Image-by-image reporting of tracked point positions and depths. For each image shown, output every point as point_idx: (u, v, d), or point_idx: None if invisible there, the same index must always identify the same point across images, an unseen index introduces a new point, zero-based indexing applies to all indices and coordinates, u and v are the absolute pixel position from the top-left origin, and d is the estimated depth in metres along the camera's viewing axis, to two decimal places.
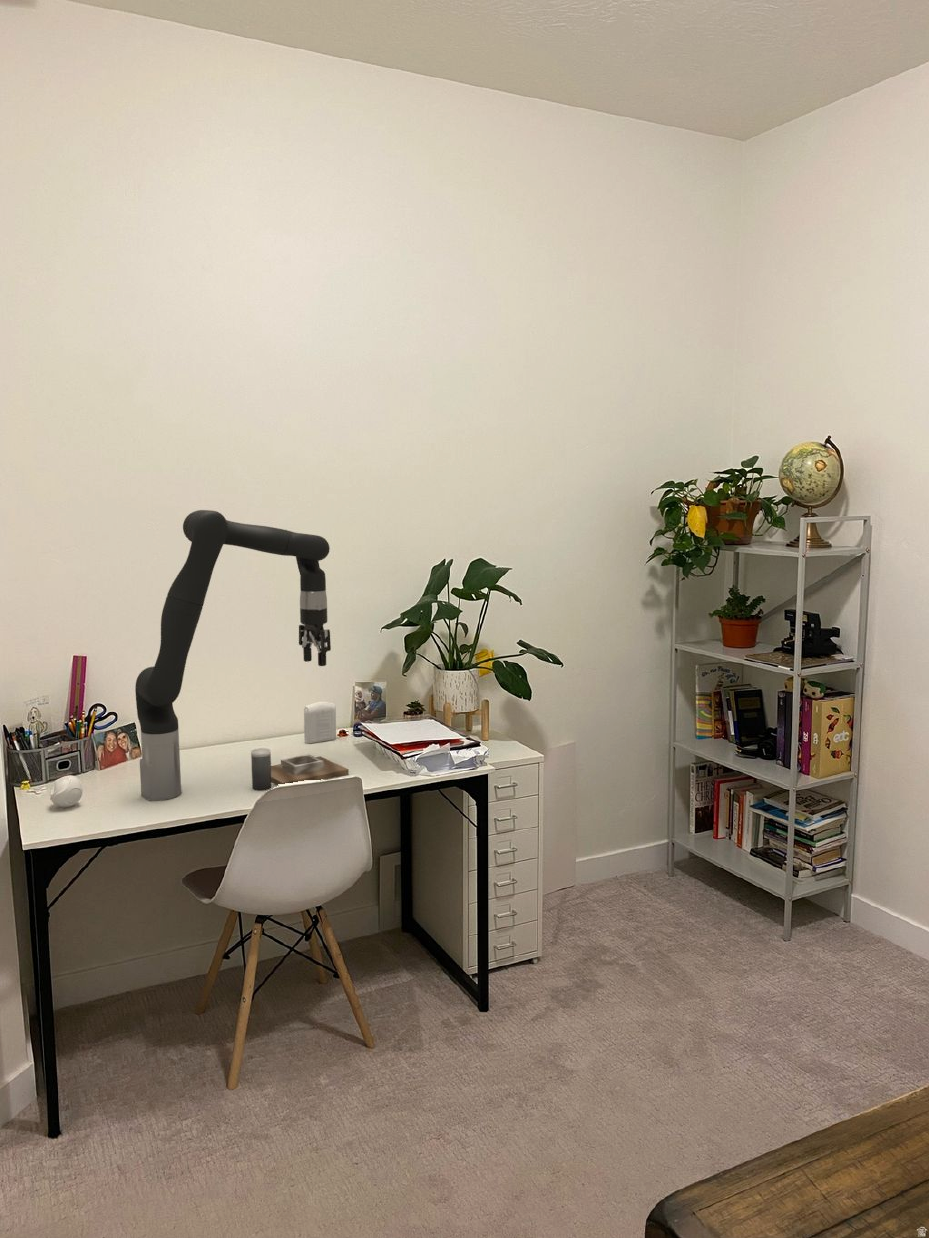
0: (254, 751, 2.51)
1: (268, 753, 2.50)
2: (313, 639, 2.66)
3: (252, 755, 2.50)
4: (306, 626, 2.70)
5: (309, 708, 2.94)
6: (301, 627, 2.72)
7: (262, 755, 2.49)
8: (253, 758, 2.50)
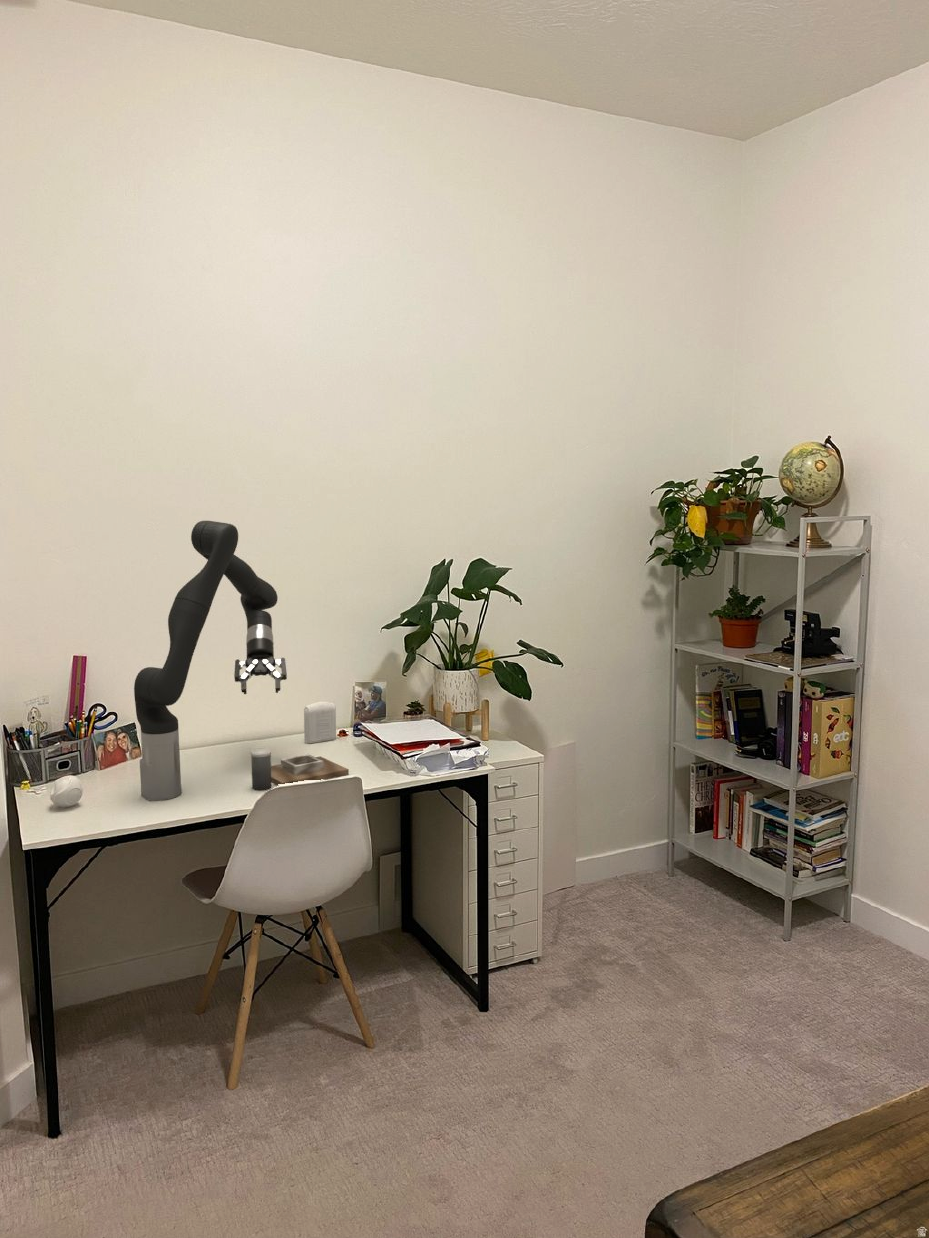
0: (254, 751, 2.51)
1: (268, 753, 2.50)
2: (270, 666, 2.67)
3: (252, 755, 2.50)
4: (251, 659, 2.68)
5: (309, 708, 2.94)
6: (239, 661, 2.67)
7: (262, 755, 2.49)
8: (253, 758, 2.50)
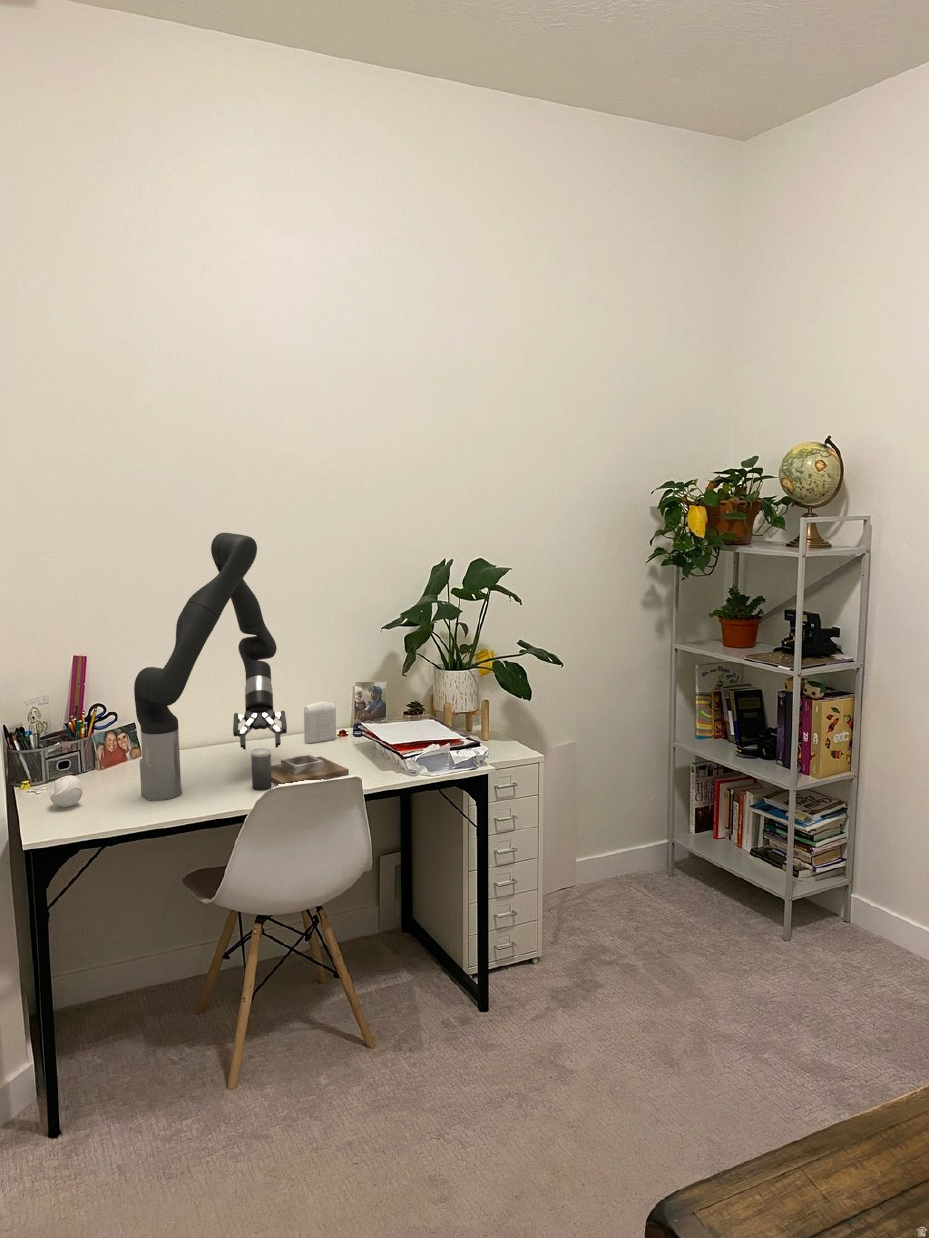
0: (254, 751, 2.51)
1: (268, 753, 2.50)
2: (269, 719, 2.60)
3: (252, 755, 2.50)
4: (250, 712, 2.61)
5: (309, 708, 2.94)
6: (238, 715, 2.60)
7: (262, 755, 2.49)
8: (253, 758, 2.50)
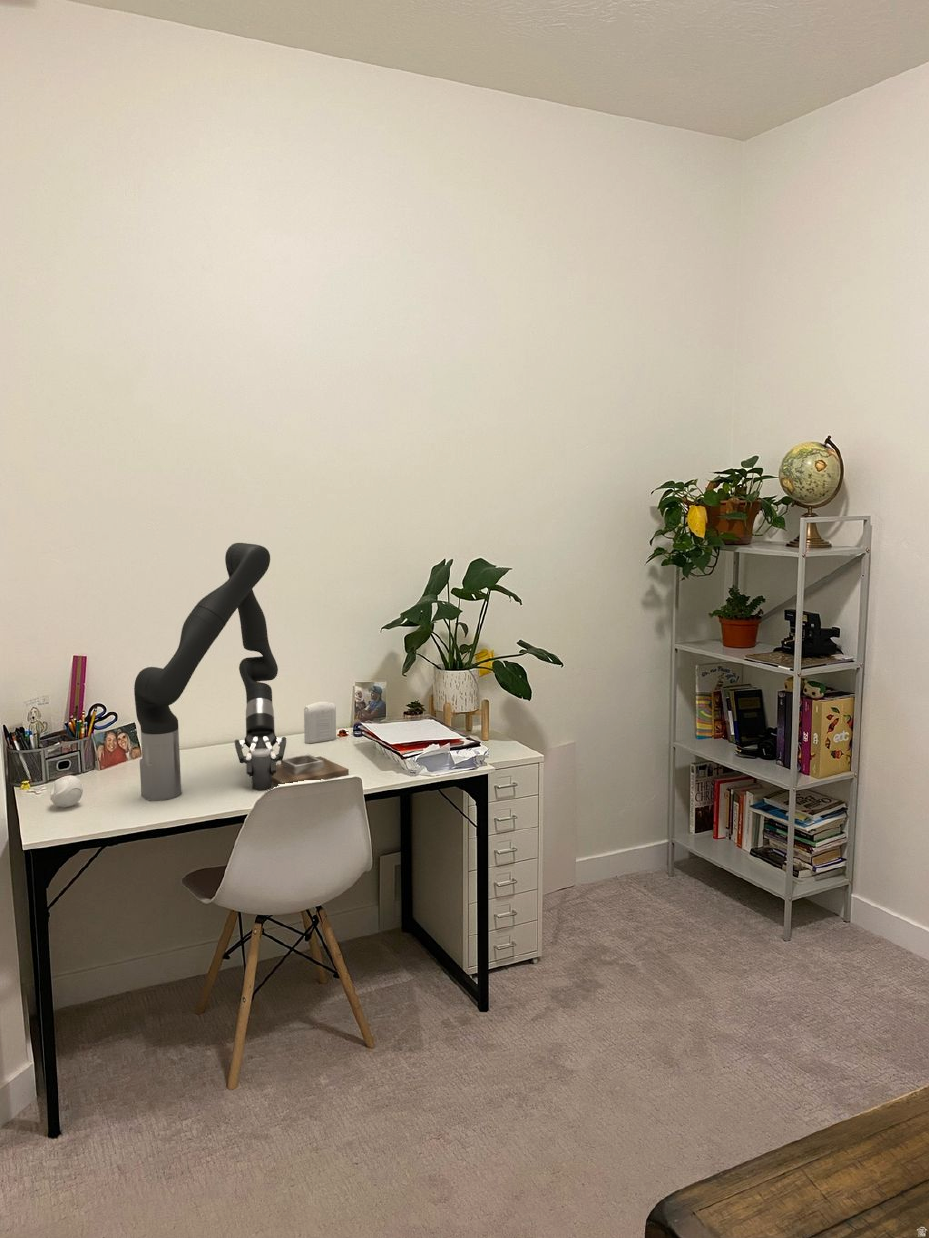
0: (254, 751, 2.51)
1: (268, 753, 2.50)
2: (268, 744, 2.54)
3: (252, 755, 2.50)
4: (250, 735, 2.56)
5: (309, 708, 2.94)
6: (239, 741, 2.54)
7: (262, 755, 2.49)
8: (253, 758, 2.50)
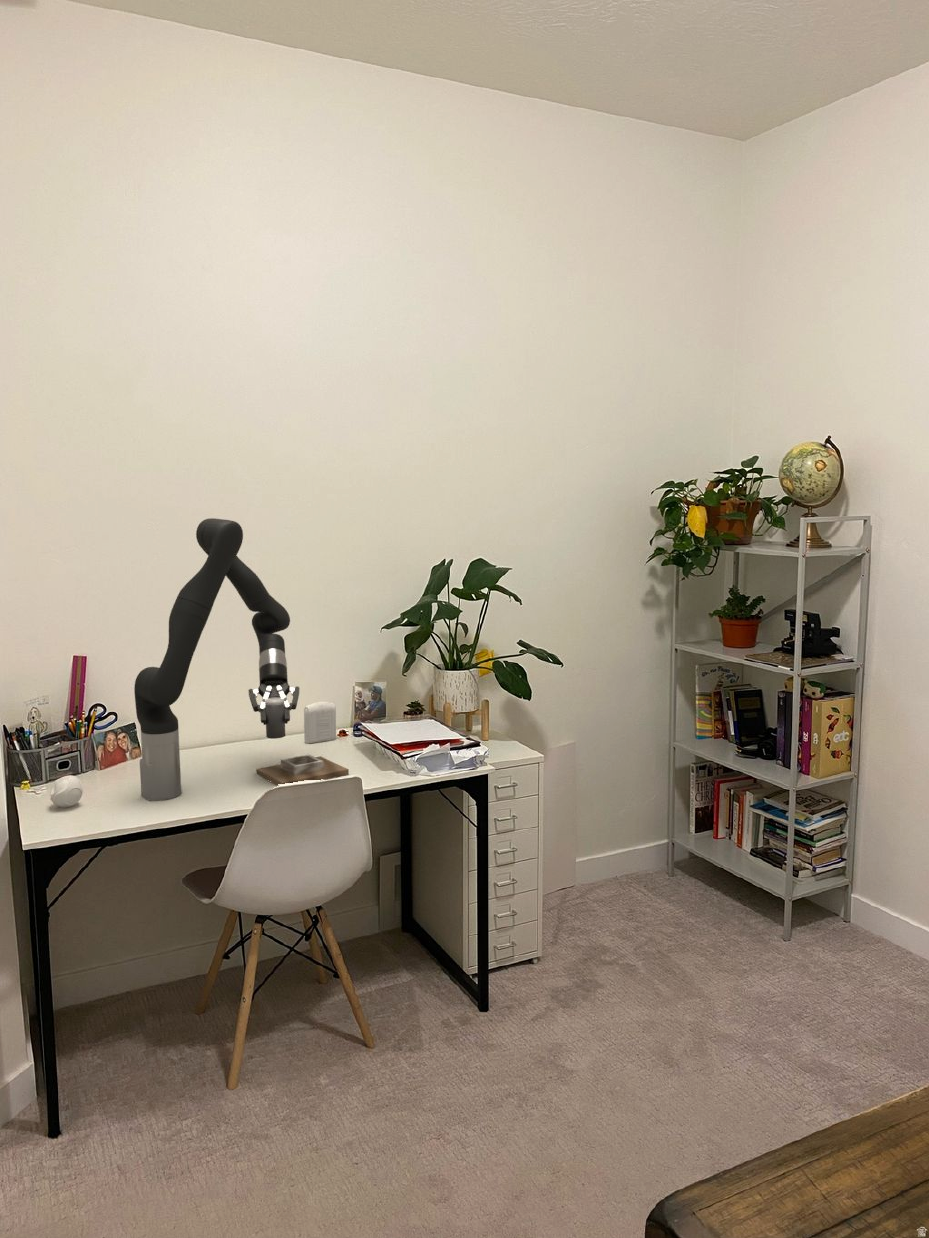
0: (268, 700, 2.53)
1: (282, 701, 2.53)
2: (282, 693, 2.57)
3: (266, 703, 2.52)
4: (263, 684, 2.58)
5: (309, 708, 2.94)
6: (252, 690, 2.57)
7: (276, 703, 2.52)
8: (267, 706, 2.52)
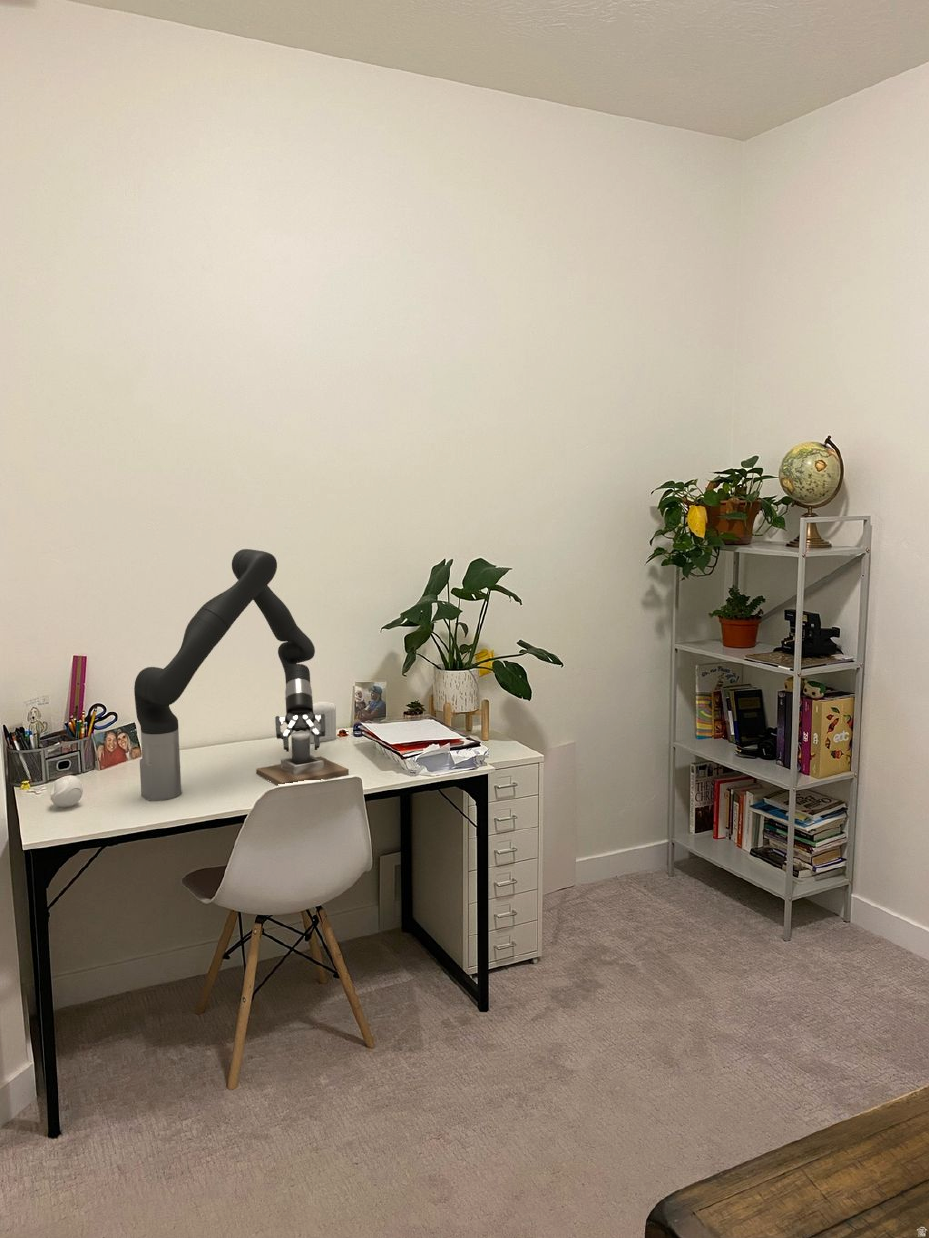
0: (294, 734, 2.62)
1: (308, 736, 2.62)
2: (309, 722, 2.65)
3: (292, 737, 2.61)
4: (291, 714, 2.67)
5: None
6: None
7: (302, 737, 2.61)
8: (293, 740, 2.61)
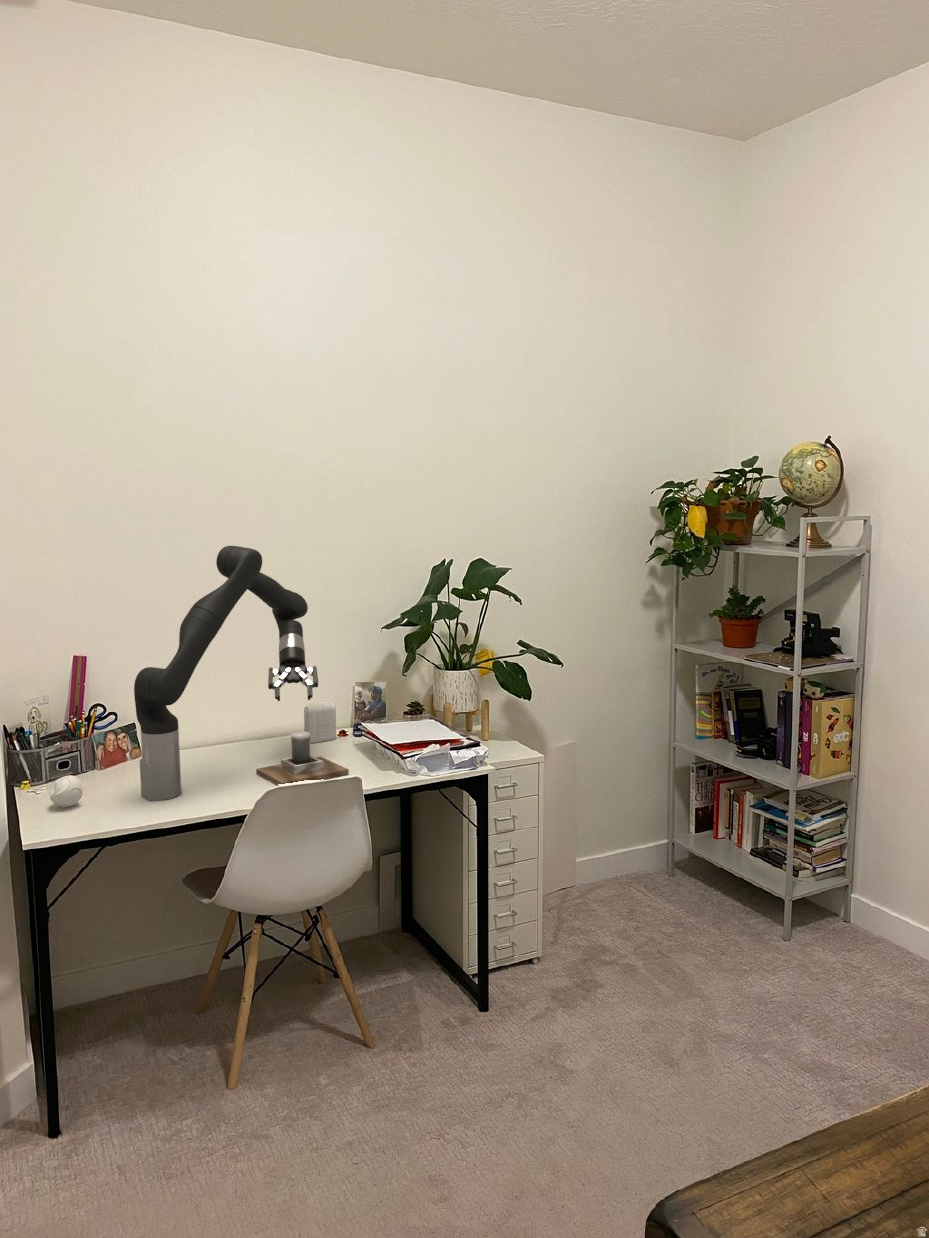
0: (294, 734, 2.62)
1: (307, 736, 2.62)
2: (302, 673, 2.76)
3: (292, 737, 2.61)
4: (284, 667, 2.78)
5: (309, 708, 2.94)
6: (272, 669, 2.77)
7: (302, 737, 2.61)
8: (293, 740, 2.61)
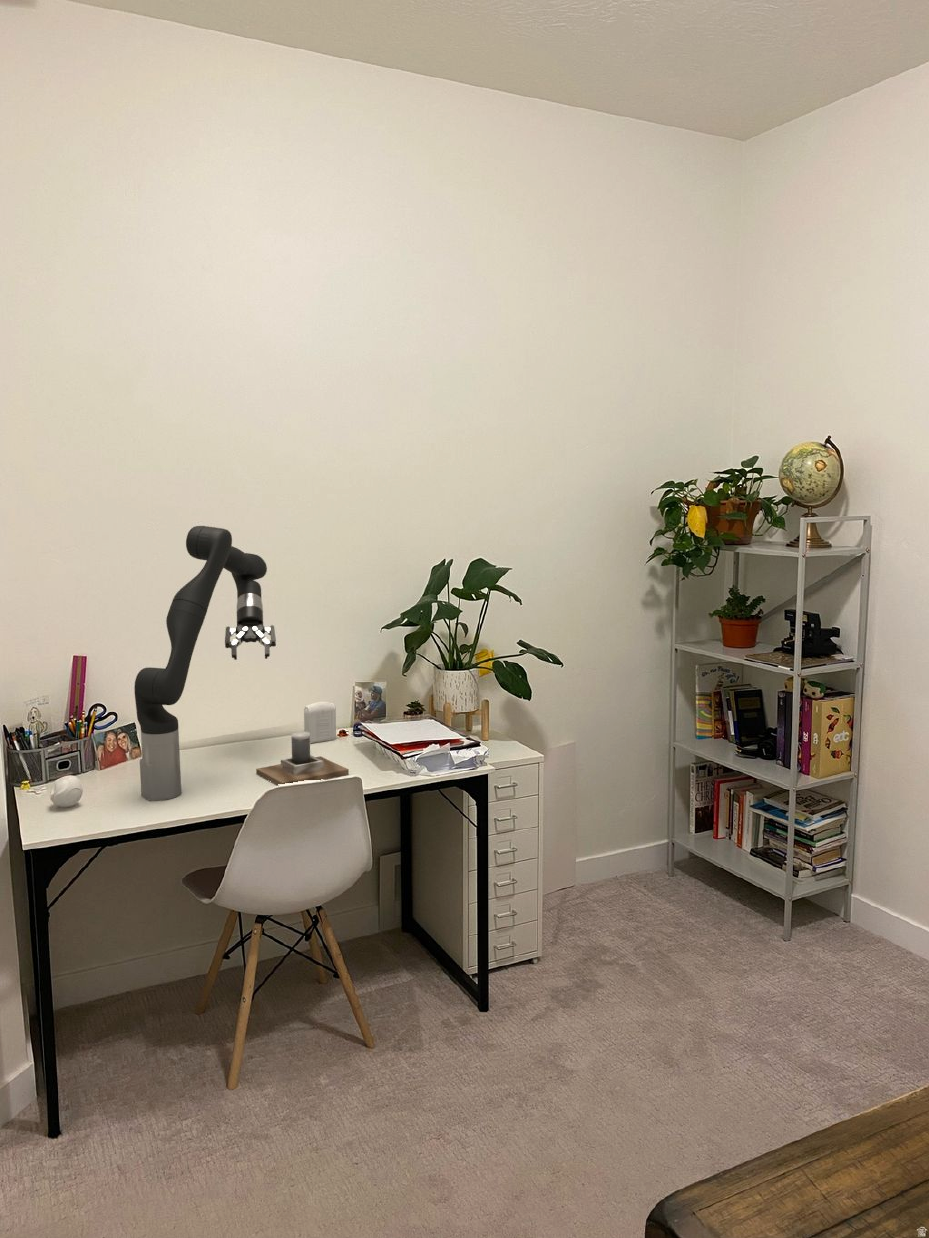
0: (294, 734, 2.62)
1: (308, 736, 2.62)
2: (259, 632, 2.75)
3: (292, 737, 2.61)
4: (241, 626, 2.76)
5: (309, 708, 2.94)
6: (229, 628, 2.75)
7: (302, 737, 2.61)
8: (293, 740, 2.61)
